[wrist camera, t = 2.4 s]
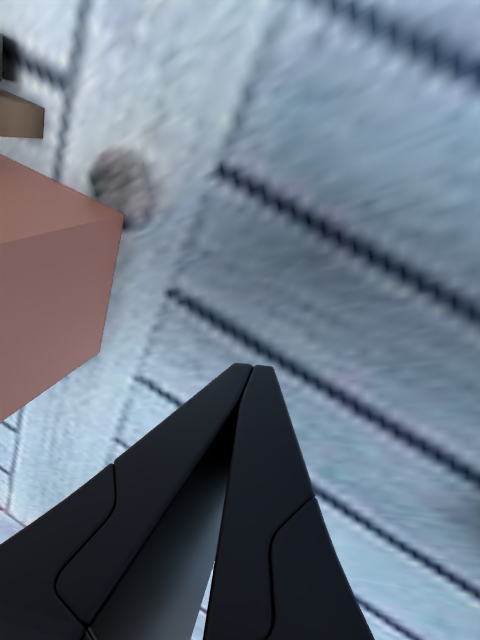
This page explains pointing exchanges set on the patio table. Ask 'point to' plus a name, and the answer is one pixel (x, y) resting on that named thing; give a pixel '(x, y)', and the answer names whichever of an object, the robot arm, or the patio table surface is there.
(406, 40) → the patio table surface
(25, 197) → the pink toy brick
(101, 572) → the robot arm
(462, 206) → the patio table surface
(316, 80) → the patio table surface
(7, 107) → the chassis bay
